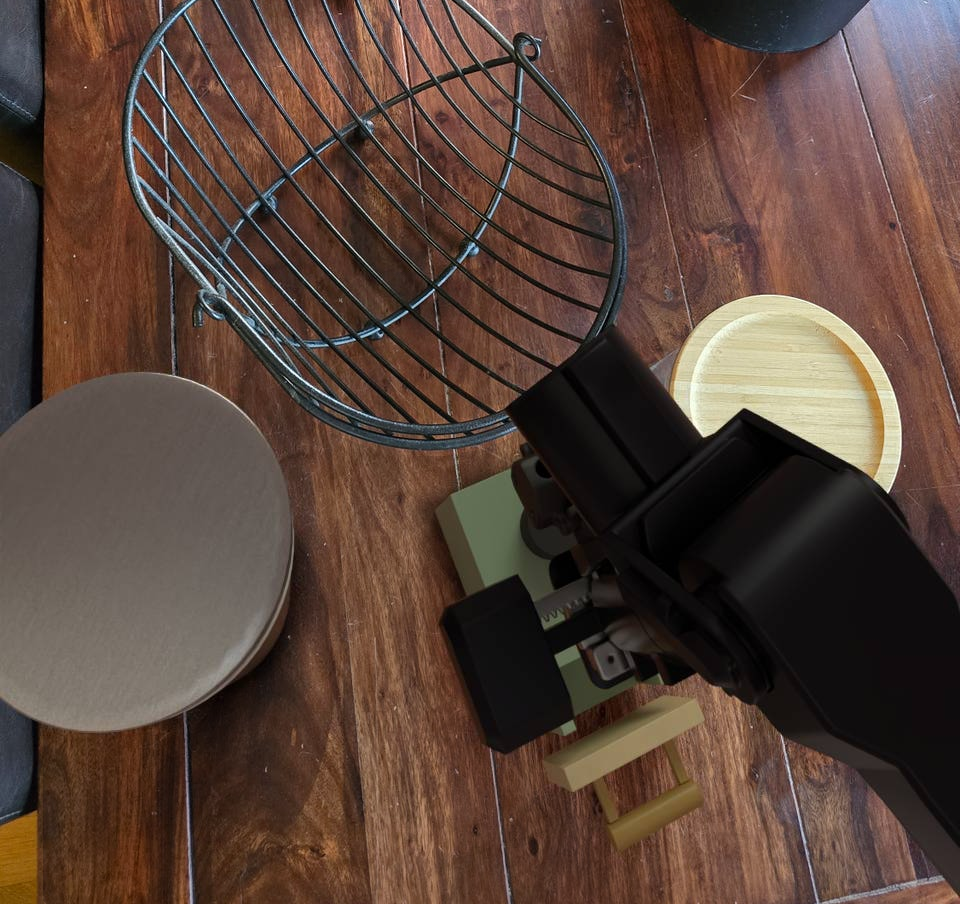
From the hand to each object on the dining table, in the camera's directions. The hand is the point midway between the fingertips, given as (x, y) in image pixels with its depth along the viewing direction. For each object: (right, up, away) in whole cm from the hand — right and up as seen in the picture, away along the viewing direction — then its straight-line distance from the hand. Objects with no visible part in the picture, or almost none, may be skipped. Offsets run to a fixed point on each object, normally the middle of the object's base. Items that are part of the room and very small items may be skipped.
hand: (601, 596), depth 60 cm
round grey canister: (-23, -5, +9) cm, 25 cm away
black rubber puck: (-2, +1, +6) cm, 7 cm away
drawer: (0, -10, +9) cm, 14 cm away
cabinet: (-3, -4, +13) cm, 14 cm away
